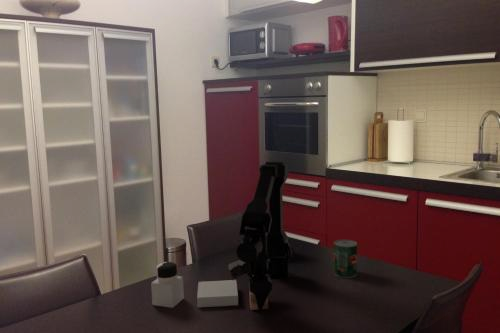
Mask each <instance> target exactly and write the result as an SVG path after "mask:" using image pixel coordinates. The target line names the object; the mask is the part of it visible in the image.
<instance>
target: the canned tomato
mask: <svg viewBox="0 0 500 333" xmlns="http://www.w3.org/2000/svg"><path fill="white" fill-rule="evenodd" d="M333 274H334V276H336V277H338V278H342V279H343V278H344V279H350V278H355V277H357V276H358V242H357V241H355V240H352V239H337V240H334V241H333Z"/></svg>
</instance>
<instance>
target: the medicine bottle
mask: <svg viewBox="0 0 500 333" xmlns="http://www.w3.org/2000/svg"><path fill="white" fill-rule="evenodd" d="M155 270H156V279H155V280H153V281H152V282H151V283H150V284H151V285H150V287H151V303H152V306H155V307H156V306H157V307H162V308H163V307H164V308H170V309H173V308H175V306H177V305H178V304H180V302H182V300H184V299H185V292H184V276H180V275H178V265H177V263H175V262H171V261H164V262H161V263H158V264H157V265H156V269H155Z"/></svg>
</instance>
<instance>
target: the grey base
mask: <svg viewBox="0 0 500 333" xmlns="http://www.w3.org/2000/svg"><path fill="white" fill-rule="evenodd" d="M196 295H197V296H196V299H197V300H196V302H197V305H196V306H197V308H209V307H212V308H213V307H227V306H228V307H229V306H239V294H238V284H237V279H232V280H231V279H229V280H227V279H226V280H211V281H209V280H208V281H207V280H206V281H198V285H197V294H196Z"/></svg>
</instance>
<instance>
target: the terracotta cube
mask: <svg viewBox="0 0 500 333" xmlns="http://www.w3.org/2000/svg"><path fill="white" fill-rule="evenodd" d="M248 292H249V293H248V294H249V307H250V310H251V311H253V310H254V311H255V310H259V309H258V306H257V301H256V297H255V294H254V293H251V292H250V290H248ZM268 309H269V296H268V297H267V299H266V301H265V304H264V306H263V308H262V309H261V310H268Z"/></svg>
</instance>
